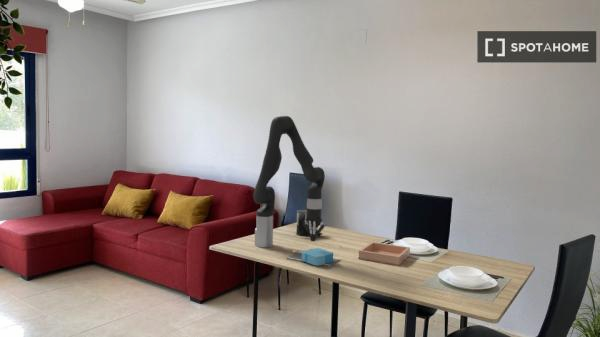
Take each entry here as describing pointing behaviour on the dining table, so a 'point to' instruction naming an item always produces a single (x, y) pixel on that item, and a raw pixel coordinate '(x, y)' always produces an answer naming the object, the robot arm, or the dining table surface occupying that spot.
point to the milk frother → (300, 228)
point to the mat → (298, 257)
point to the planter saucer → (384, 253)
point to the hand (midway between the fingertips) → (313, 241)
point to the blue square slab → (317, 256)
